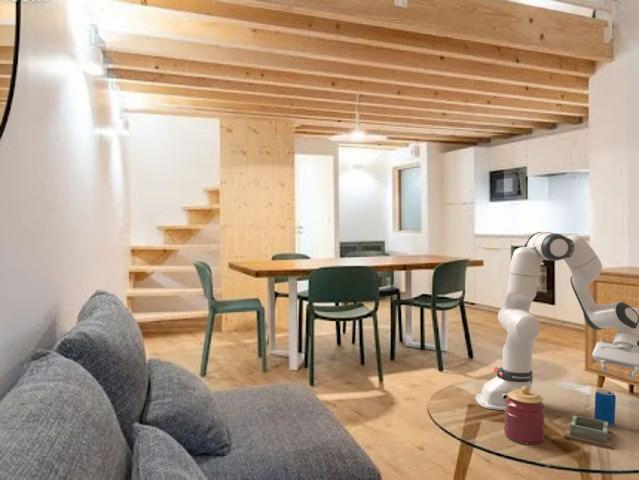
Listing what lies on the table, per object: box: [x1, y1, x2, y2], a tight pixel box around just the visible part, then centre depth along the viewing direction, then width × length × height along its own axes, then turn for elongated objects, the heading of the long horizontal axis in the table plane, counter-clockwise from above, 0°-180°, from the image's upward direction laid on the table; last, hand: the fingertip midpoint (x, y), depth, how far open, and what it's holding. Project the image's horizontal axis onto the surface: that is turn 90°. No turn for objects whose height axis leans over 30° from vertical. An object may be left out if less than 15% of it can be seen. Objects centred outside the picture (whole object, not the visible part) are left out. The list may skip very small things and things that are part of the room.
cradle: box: [564, 414, 614, 450], centre depth 171 cm, size 14×14×4 cm
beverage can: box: [594, 388, 617, 428], centre depth 181 cm, size 6×6×12 cm
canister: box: [503, 386, 547, 445], centre depth 170 cm, size 13×13×18 cm
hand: (617, 374), depth 189 cm, fingers open, 8 cm apart
